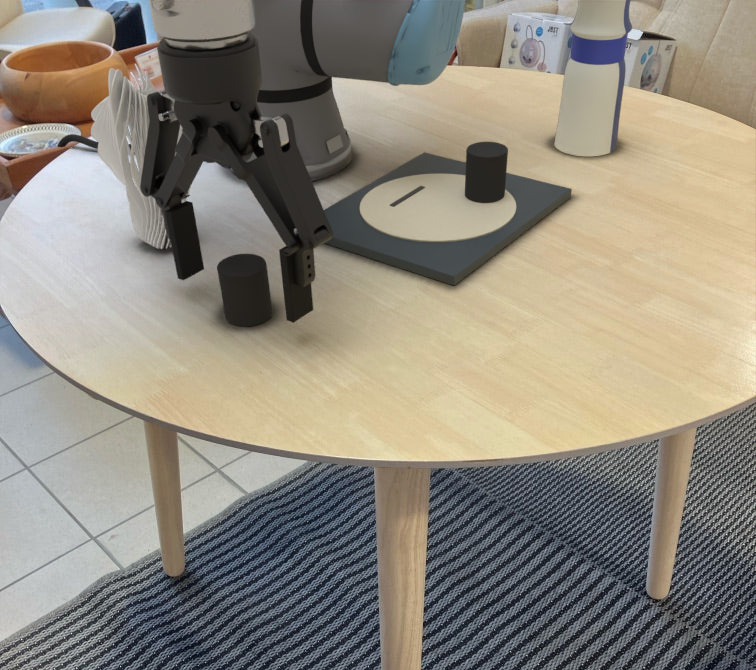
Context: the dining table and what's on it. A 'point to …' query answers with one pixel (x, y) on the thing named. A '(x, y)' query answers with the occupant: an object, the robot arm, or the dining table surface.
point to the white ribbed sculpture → (113, 149)
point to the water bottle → (594, 79)
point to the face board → (437, 218)
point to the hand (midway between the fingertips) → (243, 294)
